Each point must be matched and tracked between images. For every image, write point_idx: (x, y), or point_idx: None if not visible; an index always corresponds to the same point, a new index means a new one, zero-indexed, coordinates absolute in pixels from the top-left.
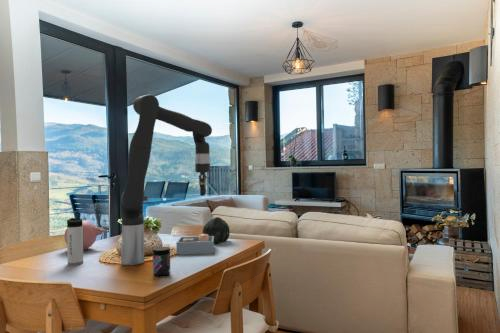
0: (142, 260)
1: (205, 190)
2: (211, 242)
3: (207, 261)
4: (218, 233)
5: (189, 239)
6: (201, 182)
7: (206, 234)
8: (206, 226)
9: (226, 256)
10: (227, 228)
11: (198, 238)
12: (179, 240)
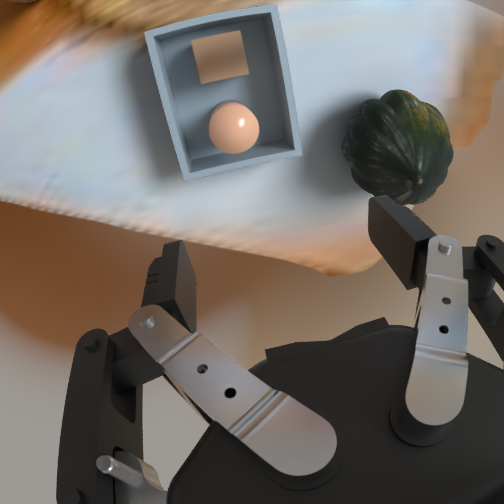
0: (27, 1)
1: (387, 260)
2: (183, 174)
3: (83, 184)
4: (352, 165)
5: (216, 64)
6: (180, 389)
7: (245, 141)
8: (395, 114)
9: (153, 220)
10: None
11: (283, 87)
12: (195, 25)
